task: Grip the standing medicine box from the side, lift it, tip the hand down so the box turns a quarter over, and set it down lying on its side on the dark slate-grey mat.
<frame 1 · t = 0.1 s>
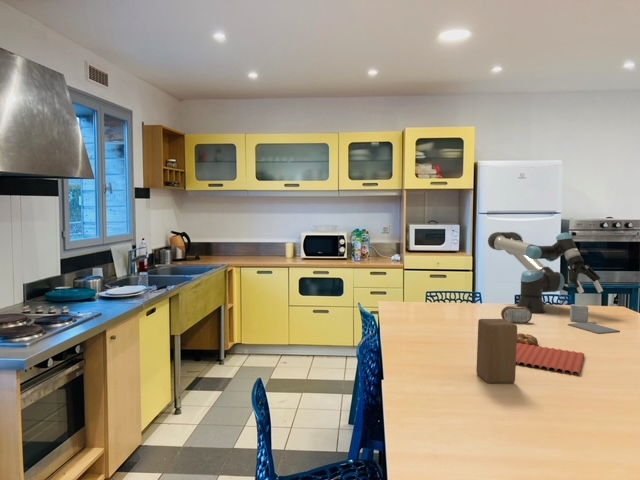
hand: (591, 292, 256), 15 cm above the table, tool tilted 35°, fingers open, 13 cm apart
corrugated roof tile: (541, 360, 187), on the table
tin: (516, 323, 249), on the table
medicine box: (578, 321, 254), on the table
wooden block: (495, 379, 164), on the table
slate mat: (593, 328, 239), on the table
pretzel: (524, 344, 209), on the table
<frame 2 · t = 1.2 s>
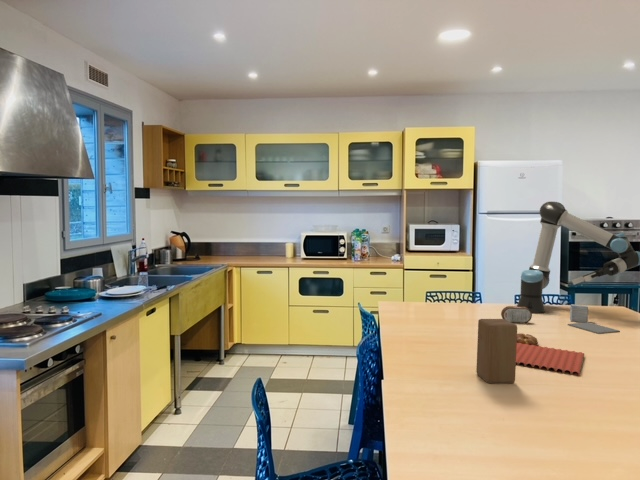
hand: (578, 280, 259), 21 cm above the table, tool tilted 70°, fingers open, 13 cm apart
nothing on the table moved.
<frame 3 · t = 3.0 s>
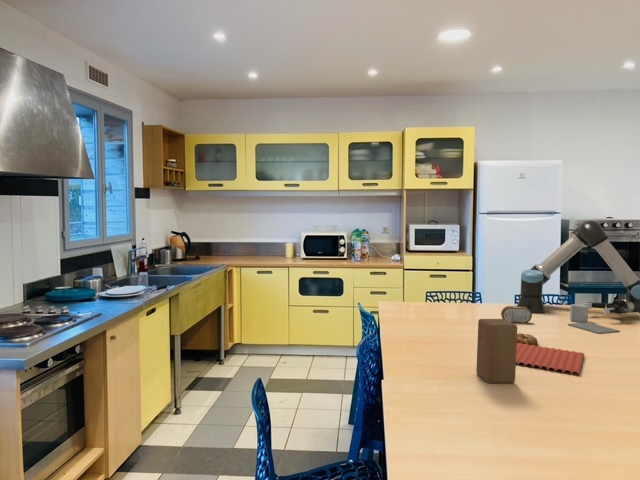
hand: (593, 308, 257), 6 cm above the table, tool horizontal, fingers open, 13 cm apart
nothing on the table moved.
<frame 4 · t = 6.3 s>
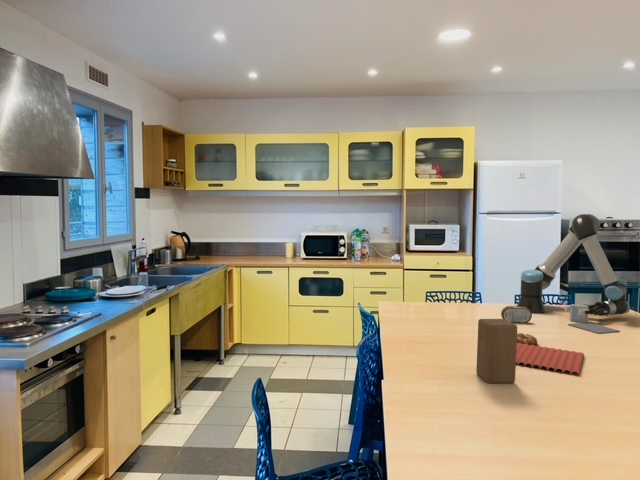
hand: (572, 310, 252), 6 cm above the table, tool horizontal, fingers closed on medicine box, 8 cm apart
medicine box: (578, 321, 254), on the table, touching gripper
everything else where it was.
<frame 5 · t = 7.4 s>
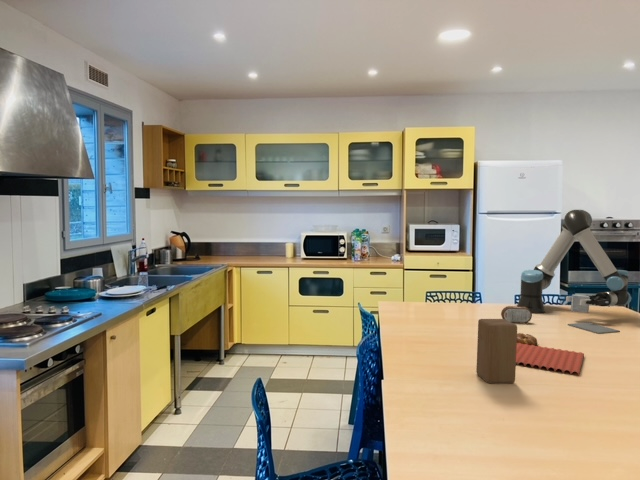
hand: (573, 300, 251), 11 cm above the table, tool horizontal, fingers closed on medicine box, 8 cm apart
medicine box: (579, 312, 253), point 5 cm above the table, touching gripper
everything else where it was.
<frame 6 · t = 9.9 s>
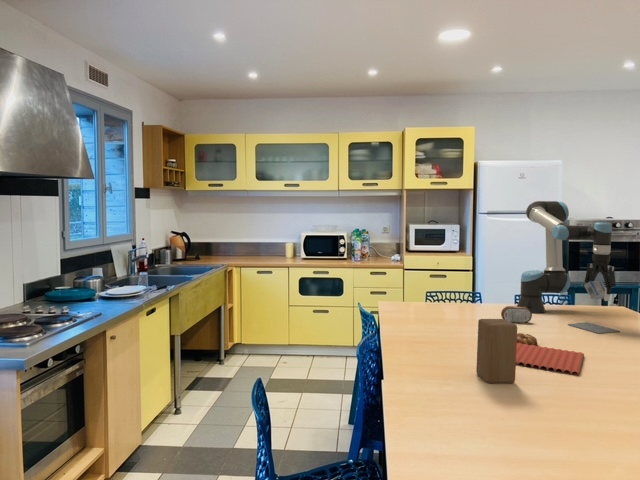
hand: (598, 298, 237), 15 cm above the table, tool pointing down, fingers closed on medicine box, 8 cm apart
medicine box: (590, 290, 235), point 20 cm above the table, touching gripper
everything else where it was.
when the fingers open (3 cm above the table, at t = 13.0 s): medicine box drops 3 cm, resting on slate mat.
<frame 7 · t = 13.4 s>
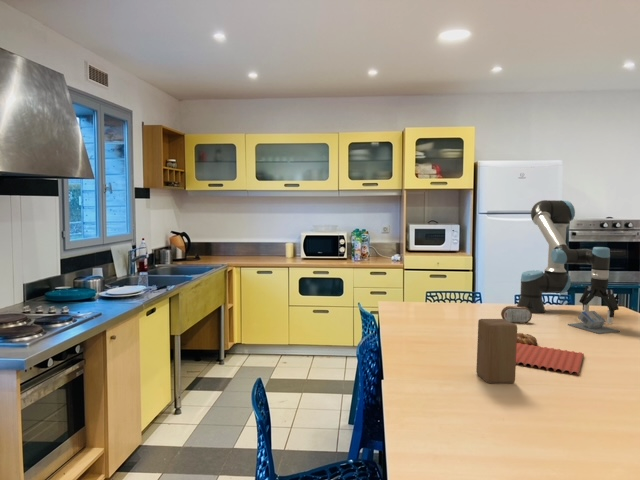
hand: (597, 320, 238), 4 cm above the table, tool pointing down, fingers open, 13 cm apart
medicine box: (584, 319, 238), point 4 cm above the table, touching gripper, slate mat
everything else where it was.
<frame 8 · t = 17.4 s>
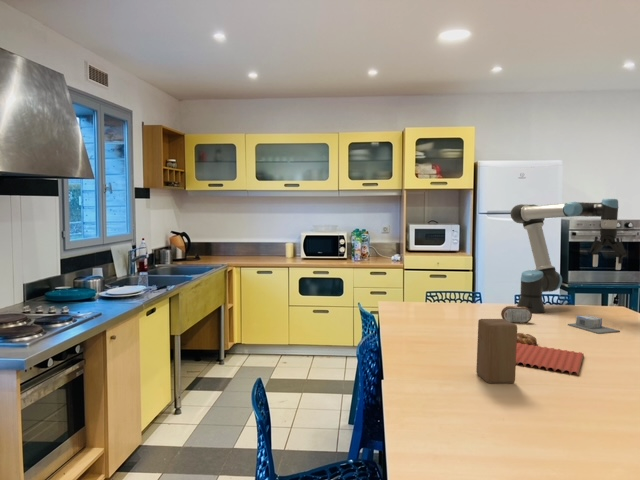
hand: (606, 268, 253), 29 cm above the table, tool pointing down, fingers open, 13 cm apart
medicine box: (581, 322, 239), point 3 cm above the table, touching slate mat
everything else where it was.
at the end: medicine box tilted 89°; medicine box inside the target area on the slate mat (5.3 cm from its centre), point 2.7 cm above the slate mat's base; the gripper is holding nothing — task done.
